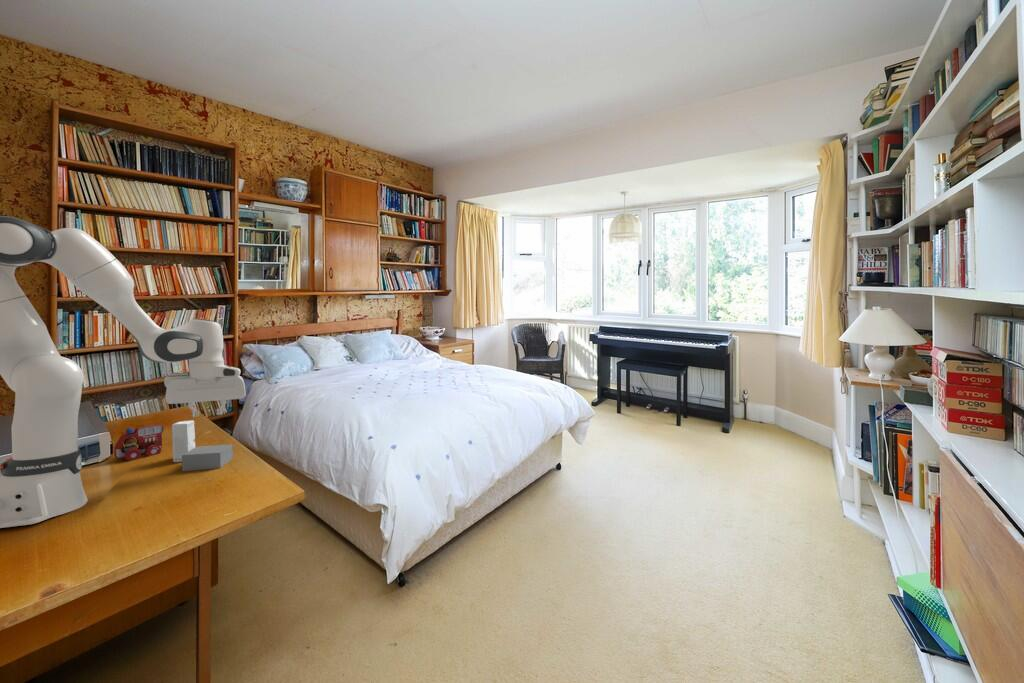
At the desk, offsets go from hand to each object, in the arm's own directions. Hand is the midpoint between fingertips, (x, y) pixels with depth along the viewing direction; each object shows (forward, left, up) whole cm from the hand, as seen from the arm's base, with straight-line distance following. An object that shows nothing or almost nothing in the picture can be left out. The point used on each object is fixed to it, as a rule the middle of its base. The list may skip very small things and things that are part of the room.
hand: (208, 415), depth 131 cm
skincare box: (-7, +11, -16) cm, 20 cm away
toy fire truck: (-20, +21, -16) cm, 33 cm away
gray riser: (0, 0, -16) cm, 16 cm away
